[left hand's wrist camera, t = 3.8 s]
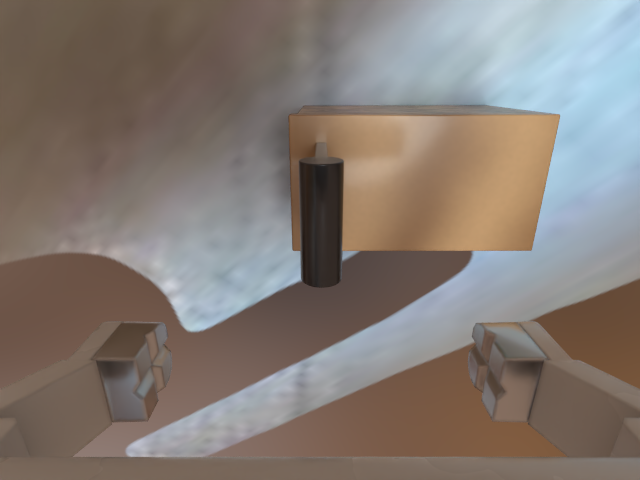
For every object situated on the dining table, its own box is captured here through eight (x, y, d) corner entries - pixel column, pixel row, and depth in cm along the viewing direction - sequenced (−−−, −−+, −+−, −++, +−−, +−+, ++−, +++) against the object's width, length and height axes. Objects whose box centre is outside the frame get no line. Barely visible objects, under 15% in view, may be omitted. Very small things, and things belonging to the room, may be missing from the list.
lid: (293, 244, 29) (281, 314, 20) (289, 113, 26) (273, 128, 17) (523, 244, 29) (611, 313, 20) (550, 113, 26) (670, 128, 17)
